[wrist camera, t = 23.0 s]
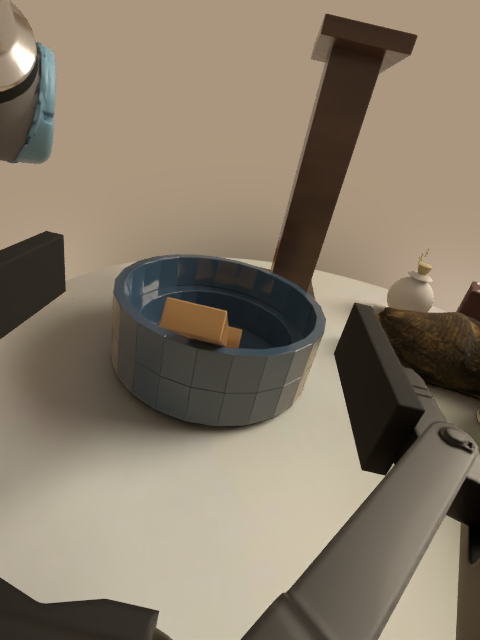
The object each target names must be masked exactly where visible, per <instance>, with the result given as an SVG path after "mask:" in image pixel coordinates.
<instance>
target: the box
mask: <svg viewBox="0 0 480 640" xmlns="http://www.w3.org/2000/svg"><path fill="white" fill-rule="evenodd" d="M456 312H459V313H461V314H464V315H465V316H468V317H471V318H473V319H476V320H477V321H479V322H480V283H478V282H472V284H471V286H470V288H469V290H468V292H467V294H466V295H465V297H464V299H463V301H462V302H461V304H460V306H459V308H458V310H457V311H456Z"/></svg>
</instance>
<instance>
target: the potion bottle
mask: <svg viewBox="0 0 480 640" xmlns="http://www.w3.org/2000/svg"><path fill="white" fill-rule="evenodd" d="M428 250H429V249H428ZM427 254H428V251H427V252H426V255H427ZM426 255H425V256H426ZM421 258H422V256H421ZM421 258H419V259H420V260H422V259H421ZM420 260H419V262H420ZM419 262H418V264H419V266H418V271H411V272H408V274H409V275H410V276H411V277H405V278H402V279H400V280H398V281H396V282H395V283H394V284H393V285H392V286H391V288H390V289H389V291H388V294H387V303H388V306H389V307H390V308H394V309H399V310H401V309H404V310H411V311H419V312H426V313H427V312H428V311H429V310H430V308H431V307H432V304H433V300H434V294H433V291H432V288H431V287H430V286H429V284H428V283H427V282H432V279H431V278H430V276H429V275H428V272H429V271H430V270H431V269H432V267H431V266H430V265H428V264H425V263H419Z"/></svg>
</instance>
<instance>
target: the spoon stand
mask: <svg viewBox="0 0 480 640" xmlns="http://www.w3.org/2000/svg"><path fill="white" fill-rule="evenodd" d="M416 39H417V35H415V34H410V33H406V32H402V31H398V30H393V29H389V28H385V27H381V26H377V25H372V24H368V23H364V22H360V21H355V20H351V19H347V18H343V17H339V16H334V15H330V14H326V15H325V17H324V20H323V23H322V25H321V28H320V31H319V33H318V36H317V39H316V42H315V45H314V49H313V52H312V56H311V59H313V60H317V61H322V62H325V65H324V69H323V73H322V76H321V80H320V84H319V88H318V92H317V95H316V99H315V103H314V107H313V111H312V114H311V118H310V122H309V126H308V130H307V134H306V137H305V141H304V145H303V149H302V152H301V156H300V160H299V164H298V168H297V171H296V175H295V179H294V183H293V187H292V190H291V195H290V198H289V202H288V206H287V209H286V213H285V217H284V221H283V225H282V228H281V232H280V236H279V240H278V244H277V248H276V252H275V255H274V259H273V263H272V266H271V270H269V269H265V268H263V269H265V270H268V271H270V272H272V273H275V274H277V275H279V276H281V277H283V278H285V279H287V280H289V281H291V282H292V283H294V284H296V285H298V286H299V287H300V288H302V289H303V290H304V291H306V292H307V293H308V294H310V295H311V296H312V297H313V298H314V300H315V297H314V292H313V287H312V282H311V279H312V276H313V273H314V270H315V267H316V264H317V261H318V258H319V254H320V251H321V248H322V245H323V242H324V239H325V236H326V233H327V230H328V227H329V224H330V221H331V218H332V214H333V211H334V209H335V205H336V202H337V199H338V196H339V193H340V190H341V187H342V184H343V181H344V178H345V175H346V172H347V169H348V166H349V163H350V160H351V157H352V154H353V151H354V148H355V145H356V141H357V138H358V135H359V132H360V129H361V126H362V123H363V120H364V117H365V114H366V111H367V108H368V105H369V102H370V99H371V96H372V93H373V90H374V86H375V83H376V80H377V77H378V74H380V73H381V72H383V71H385V70H386V69H388V68H390V67H391V66H393V65H394V64H396V63H398V62H400V61H401V60H403V59H404V58H406V57H408V56H409V55H411V53H412V50H413V47H414V45H415V42H416Z"/></svg>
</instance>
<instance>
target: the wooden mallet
mask: <svg viewBox="0 0 480 640" xmlns="http://www.w3.org/2000/svg"><path fill="white" fill-rule="evenodd" d="M159 326H160V327H161V328H163V329H166V330H169V331H172V332H174V333H177V334H180V335H182V336H185V337H187V338H189V339H192V340H195V341H197V342H200V343H205V344H211V345H216V346H222V347H227V348H238V347H239V343H240V339H241V334H242V330H241V329H237V328H233V327H229V326H228V318H227V311H225V310H220V309H216V308H212V307H208V306H203V305H199V304H195V303H191V302H186V301H182V300H178V299H174V298H169V297H167V298H166V302H165V306H164V310H163V314H162V317H161V321H160V325H159Z"/></svg>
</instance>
